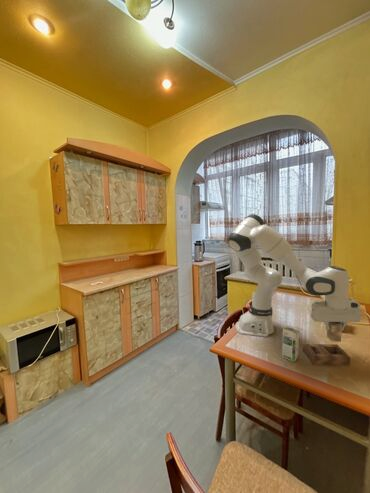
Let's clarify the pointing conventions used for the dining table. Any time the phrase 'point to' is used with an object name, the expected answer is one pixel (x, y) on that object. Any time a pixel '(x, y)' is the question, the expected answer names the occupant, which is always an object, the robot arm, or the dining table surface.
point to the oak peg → (335, 331)
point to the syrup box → (290, 343)
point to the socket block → (326, 354)
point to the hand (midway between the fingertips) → (334, 329)
